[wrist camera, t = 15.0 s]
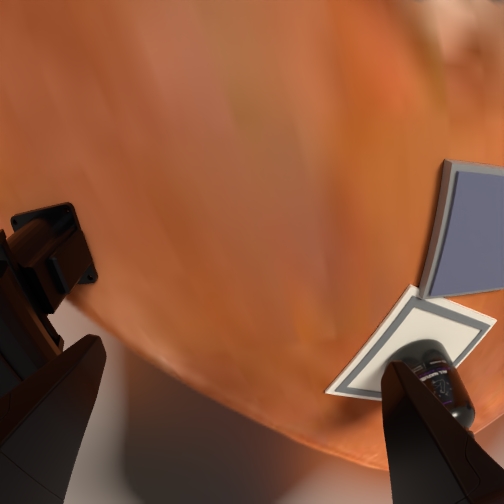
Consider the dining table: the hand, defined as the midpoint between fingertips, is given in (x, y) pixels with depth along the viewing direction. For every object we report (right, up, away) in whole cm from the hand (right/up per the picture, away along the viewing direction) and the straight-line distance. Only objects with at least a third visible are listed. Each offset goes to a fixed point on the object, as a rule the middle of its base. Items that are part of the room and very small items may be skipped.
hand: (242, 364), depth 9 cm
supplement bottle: (+16, -7, +19) cm, 26 cm away
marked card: (+17, -7, +19) cm, 26 cm away
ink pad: (+19, +5, +12) cm, 23 cm away
